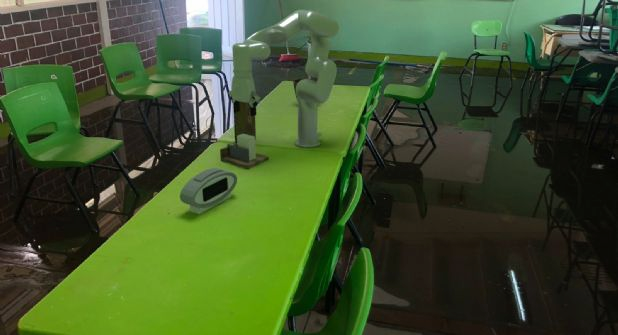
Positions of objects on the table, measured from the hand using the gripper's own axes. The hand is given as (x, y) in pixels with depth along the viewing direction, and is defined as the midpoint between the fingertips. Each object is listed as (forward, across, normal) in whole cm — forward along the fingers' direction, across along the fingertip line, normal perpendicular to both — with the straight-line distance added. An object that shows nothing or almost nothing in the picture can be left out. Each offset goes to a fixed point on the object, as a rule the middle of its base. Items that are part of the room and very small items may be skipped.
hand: (245, 113), depth 205 cm
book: (+22, -16, +17) cm, 32 cm away
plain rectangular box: (+20, 0, 0) cm, 20 cm away
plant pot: (+23, -35, +91) cm, 100 cm away
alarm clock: (+22, +19, -39) cm, 49 cm away
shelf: (+22, -1, 0) cm, 22 cm away
